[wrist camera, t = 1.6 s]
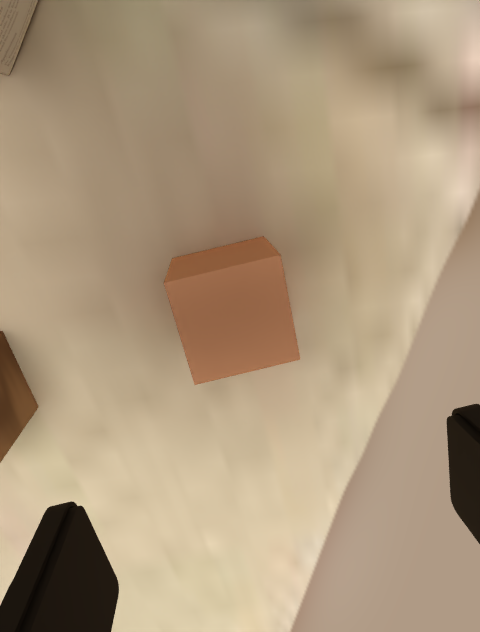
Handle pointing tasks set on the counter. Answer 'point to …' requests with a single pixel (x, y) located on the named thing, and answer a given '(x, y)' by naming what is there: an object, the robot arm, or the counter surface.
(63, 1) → the counter surface
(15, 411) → the walnut block
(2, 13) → the skincare box
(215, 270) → the terracotta block
